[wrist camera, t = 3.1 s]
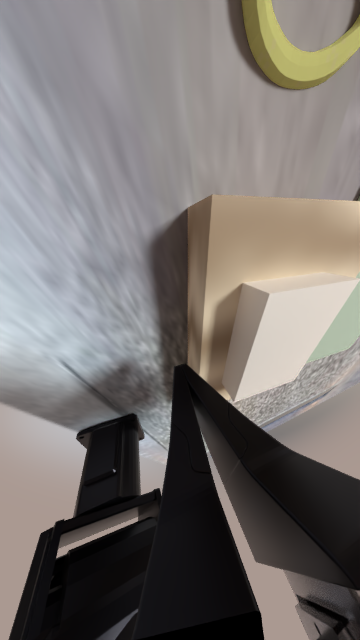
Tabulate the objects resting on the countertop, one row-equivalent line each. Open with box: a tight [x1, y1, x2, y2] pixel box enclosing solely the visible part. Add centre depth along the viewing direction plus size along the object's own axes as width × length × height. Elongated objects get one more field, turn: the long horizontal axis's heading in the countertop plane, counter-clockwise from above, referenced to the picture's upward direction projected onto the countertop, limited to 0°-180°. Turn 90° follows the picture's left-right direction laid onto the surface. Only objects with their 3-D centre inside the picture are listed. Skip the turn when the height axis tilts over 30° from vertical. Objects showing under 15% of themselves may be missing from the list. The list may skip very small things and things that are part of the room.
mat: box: [305, 196, 360, 364], centre depth 18 cm, size 24×18×1 cm
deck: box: [188, 195, 360, 400], centre depth 13 cm, size 18×14×3 cm
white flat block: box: [222, 272, 360, 402], centre depth 11 cm, size 10×7×2 cm
